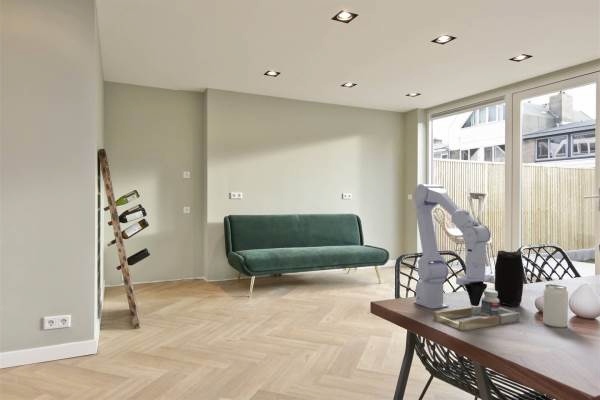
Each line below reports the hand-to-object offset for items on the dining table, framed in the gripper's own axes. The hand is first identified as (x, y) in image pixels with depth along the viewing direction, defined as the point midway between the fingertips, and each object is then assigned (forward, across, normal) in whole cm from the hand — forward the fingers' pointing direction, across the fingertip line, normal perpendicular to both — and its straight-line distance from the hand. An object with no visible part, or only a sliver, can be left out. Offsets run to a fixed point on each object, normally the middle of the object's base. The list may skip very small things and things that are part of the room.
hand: (474, 305), depth 130 cm
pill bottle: (+5, +6, -1) cm, 8 cm away
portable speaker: (+5, +27, +9) cm, 29 cm away
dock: (+5, +10, 0) cm, 11 cm away
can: (+5, +20, -13) cm, 24 cm away
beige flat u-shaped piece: (+5, -4, 0) cm, 6 cm away
